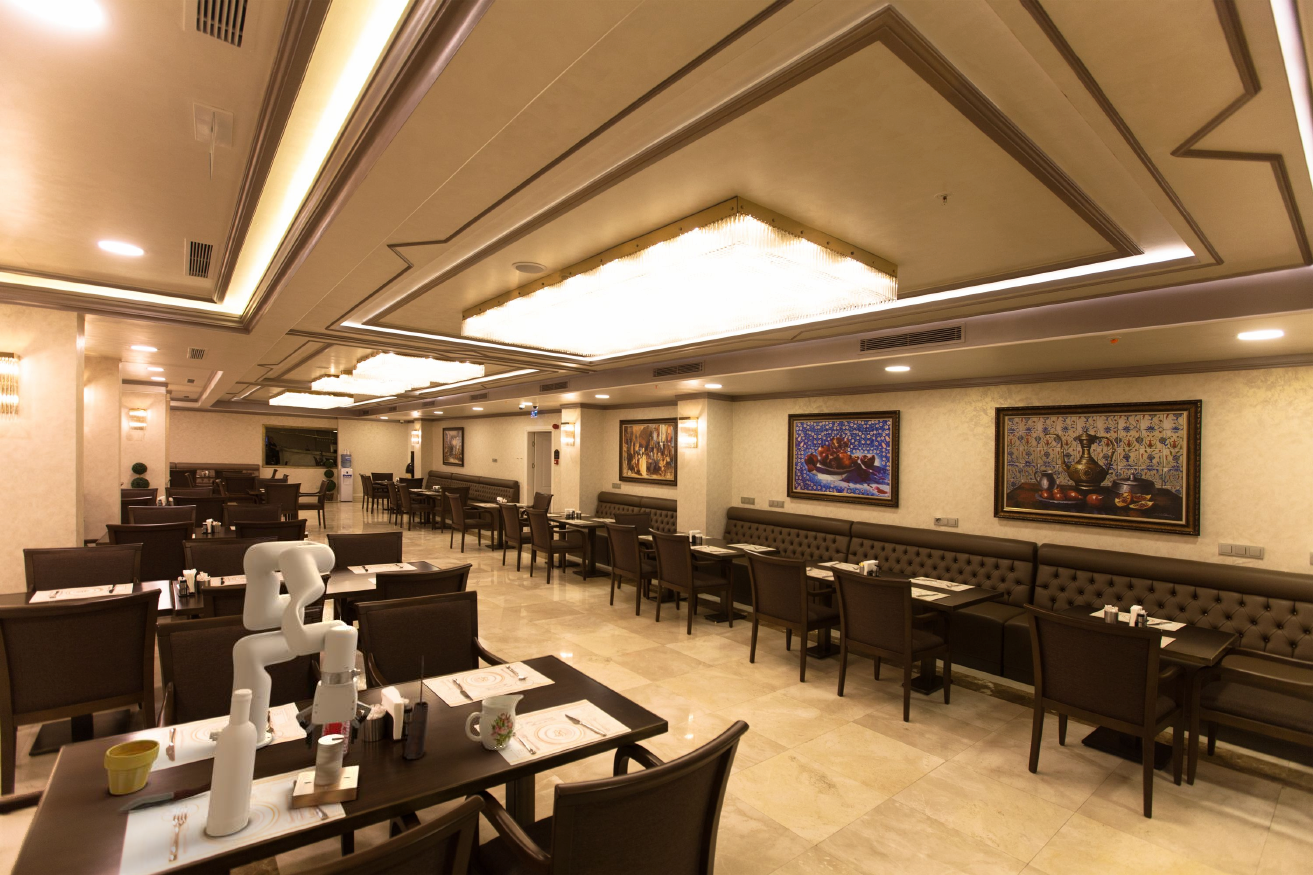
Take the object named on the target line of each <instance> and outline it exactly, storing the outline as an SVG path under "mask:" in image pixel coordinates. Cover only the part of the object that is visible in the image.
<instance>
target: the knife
mask: <svg viewBox="0 0 1313 875" xmlns="http://www.w3.org/2000/svg"><path fill="white" fill-rule="evenodd" d="M211 784H212V780H211V781H209V782H207V783H205V784H203V785H201V786H198V787H195V788H182V789H178V790H176V791H170V792H166V793H161V794H155V795H147V796H142V797H141V796H140V797H138V798H135V799H133V800H132V801H130V802H128V803H127V804H125V805H123V806H122V807H121V808H119V809H118V810H117V812H133V811H134V812H135V811H140V810H146V809H150V808H151V809H152V808H155V807H160V806H164V805H168V804H171V803H175V802H179V801H182V800H186V799H190V798H192V797H196V796H198V795H200V794H203V793H206V792H209V791H211Z"/></svg>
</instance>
